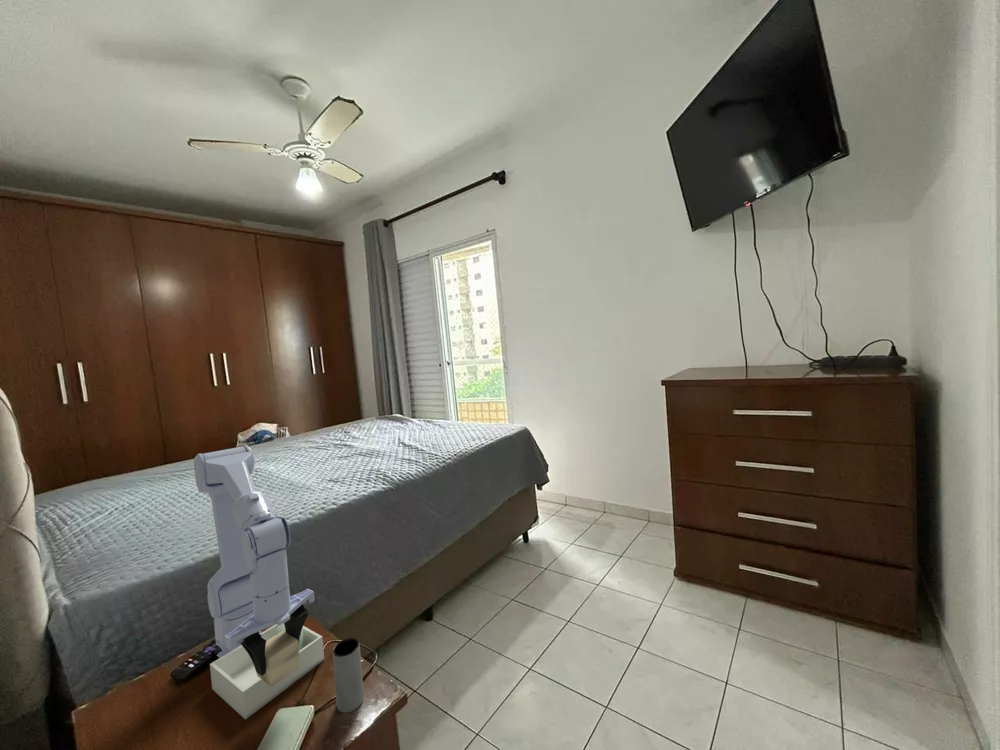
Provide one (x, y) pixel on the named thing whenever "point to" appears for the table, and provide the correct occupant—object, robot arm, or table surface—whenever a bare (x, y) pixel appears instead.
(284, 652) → the cube
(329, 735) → the table surface
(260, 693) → the tote
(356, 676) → the planter
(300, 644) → the canister
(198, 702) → the table surface
